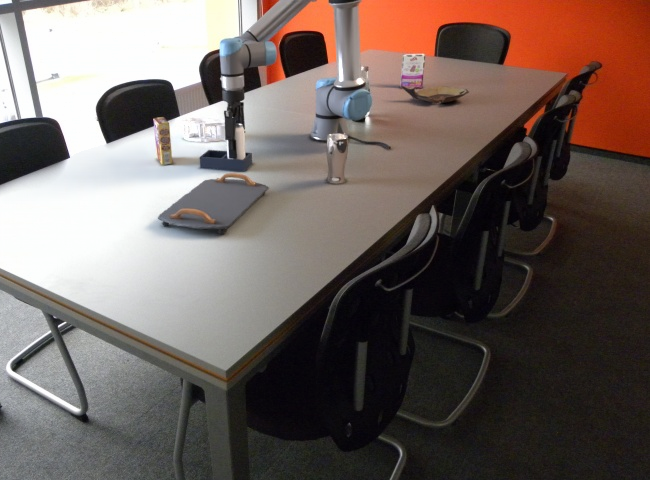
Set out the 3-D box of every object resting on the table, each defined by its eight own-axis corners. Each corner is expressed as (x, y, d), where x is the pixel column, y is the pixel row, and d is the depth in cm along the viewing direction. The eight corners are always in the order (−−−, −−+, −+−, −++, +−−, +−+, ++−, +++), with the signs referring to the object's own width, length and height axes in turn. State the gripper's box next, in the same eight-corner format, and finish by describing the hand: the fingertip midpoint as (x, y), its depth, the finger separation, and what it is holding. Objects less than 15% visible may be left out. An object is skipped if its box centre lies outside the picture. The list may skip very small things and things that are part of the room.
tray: (252, 163, 222) (251, 152, 220) (244, 171, 215) (243, 160, 213) (209, 160, 227) (208, 149, 225) (200, 168, 220) (199, 157, 218)
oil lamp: (461, 109, 278) (463, 91, 274) (396, 103, 291) (398, 87, 287) (471, 98, 295) (473, 81, 291) (410, 93, 307) (411, 77, 303)
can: (243, 162, 215) (241, 128, 209) (225, 161, 216) (223, 127, 210) (247, 156, 220) (245, 123, 214) (229, 155, 222) (228, 122, 215)
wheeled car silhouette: (236, 136, 252) (235, 119, 248) (224, 144, 244) (223, 126, 240) (194, 132, 260) (192, 115, 256) (181, 140, 251) (179, 122, 247)
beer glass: (348, 178, 206) (350, 133, 198) (344, 185, 200) (346, 140, 192) (328, 176, 208) (329, 132, 200) (323, 183, 202) (324, 138, 195)
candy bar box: (421, 86, 321) (425, 53, 312) (422, 88, 316) (425, 54, 308) (399, 86, 322) (402, 53, 314) (400, 88, 318) (403, 55, 310)
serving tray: (224, 240, 167) (223, 219, 164) (151, 230, 175) (148, 209, 171) (273, 191, 197) (273, 173, 194) (209, 184, 205) (208, 166, 202)
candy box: (173, 163, 225) (169, 122, 217) (162, 165, 224) (157, 123, 216) (168, 157, 232) (163, 116, 224) (157, 158, 231) (152, 118, 223)
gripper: (232, 81, 215) (235, 146, 226) (212, 94, 199) (216, 162, 211) (252, 82, 212) (254, 147, 224) (233, 95, 197) (237, 164, 209)
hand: (236, 154), depth 217 cm, fingers closed on can, 6 cm apart
